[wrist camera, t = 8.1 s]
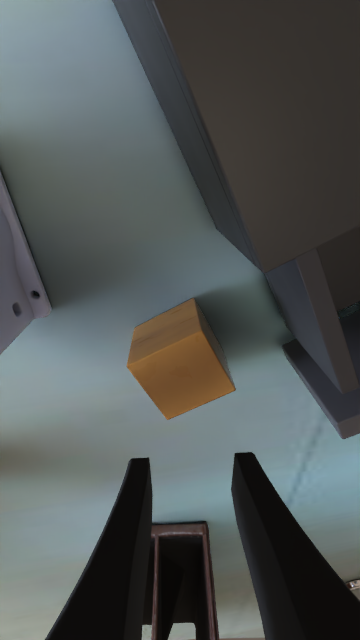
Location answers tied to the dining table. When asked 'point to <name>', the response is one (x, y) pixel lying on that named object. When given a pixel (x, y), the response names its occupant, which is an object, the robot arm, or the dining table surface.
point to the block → (179, 360)
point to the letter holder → (180, 581)
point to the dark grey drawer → (324, 325)
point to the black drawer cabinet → (261, 113)
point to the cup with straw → (354, 587)
